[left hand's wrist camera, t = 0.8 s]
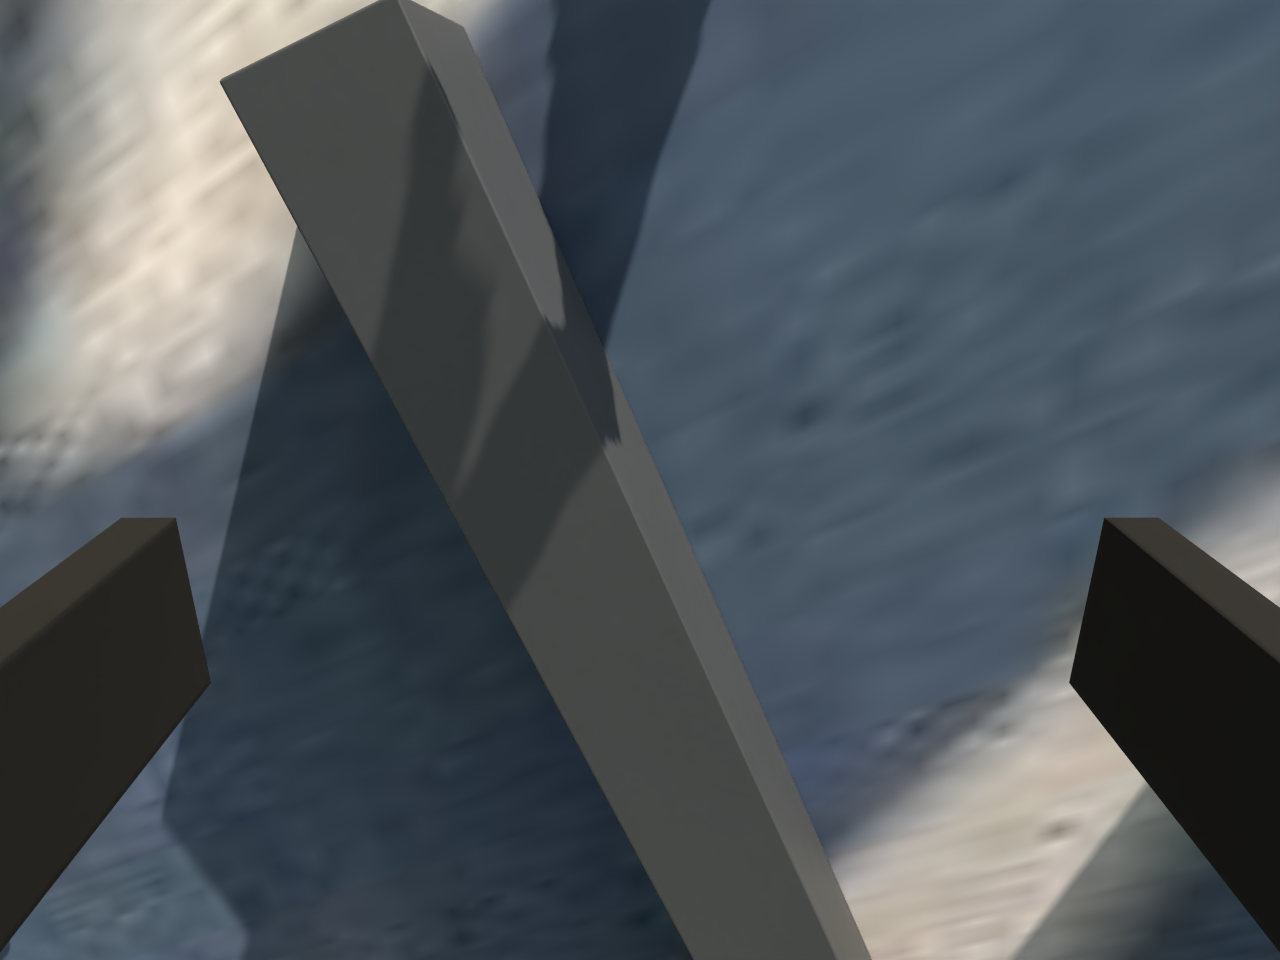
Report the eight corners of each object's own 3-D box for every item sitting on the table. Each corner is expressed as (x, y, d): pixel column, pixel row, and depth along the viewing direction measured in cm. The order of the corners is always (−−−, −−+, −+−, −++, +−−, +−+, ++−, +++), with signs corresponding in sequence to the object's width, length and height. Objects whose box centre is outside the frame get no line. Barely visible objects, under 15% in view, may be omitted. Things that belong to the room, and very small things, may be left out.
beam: (326, 91, 29) (217, 80, 22) (462, 24, 28) (395, -10, 21) (850, 1138, 48) (883, 1314, 41) (940, 1117, 47) (990, 1293, 40)
